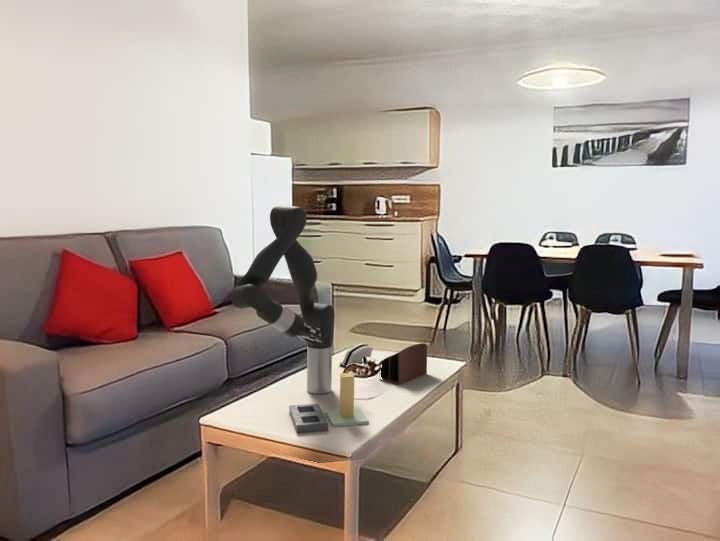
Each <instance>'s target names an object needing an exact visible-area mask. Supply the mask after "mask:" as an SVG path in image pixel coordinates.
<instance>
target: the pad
mask: <svg viewBox="0 0 720 541" xmlns="http://www.w3.org/2000/svg"><path fill="white" fill-rule="evenodd" d="M362 410H363V409H361V407H360V408H358V407H356V408H354V418H341V416H340V409H329V410H327V409H326V410H325V415H326V418H328V419H327V420H328V421H329V423H330V425H331V426H332V427H333V428H334V427H346V426H347V425H349V426H359V425H358V424H363V425H369V424H370V422H369V418H368V417H367V416H366V414H364V412H363V411H362ZM347 427H348V426H347Z"/></svg>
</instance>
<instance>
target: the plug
mask: <svg viewBox="0 0 720 541" xmlns="http://www.w3.org/2000/svg"><path fill="white" fill-rule="evenodd" d="M339 377H340V379H339V381H340V386H339V390H340V391H339V410H340V416H341V418H354V409H355V408H354V407H355V375H354V373H353V372H343V373H341V372H340V374H339Z"/></svg>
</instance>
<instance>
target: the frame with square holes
mask: <svg viewBox="0 0 720 541" xmlns="http://www.w3.org/2000/svg"><path fill="white" fill-rule="evenodd" d="M288 408H289V409H288V412H289V416H290V418H291V421H292V424H293V427H294V429H295V433H296V434H302V433H303V434H304V433H315V432H316V431H319V432H329V422H328V419H327V417H326V416H325V414H324V412H323V410H322V408H321V406H320V404H319V403H308V404H294V405H289V406H288Z"/></svg>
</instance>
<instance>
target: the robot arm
mask: <svg viewBox="0 0 720 541" xmlns="http://www.w3.org/2000/svg"><path fill="white" fill-rule="evenodd" d="M269 223H270V226H271V230H272V232H273V234H274V235H275V239H274V240H273V241H271V242H270V243H269V244H268V245H267V246H265V247H264V248H263V249H261V251H259V253H257V255H256V256H255V258H254V259H253V261H252V263H251V264H250V266H249V268H248V270H247V271H246V273H245V274H244V275H243V276H242V277H241V279H240V280H239V281H238V282H237V283H236V284H235V285H234V287H233V289H232V292H231V294H230V301H231V304H232V305H233V306H234V307H235V308H238V309H240V310H241V309H242V310H243V309H248V308H252V309H254V310H255V312H256V315H257V316H258V317H259V319H261V320H263V321H264V322H266V323H267V324H269V325H270V326H272V327H273V328H275V329H277V331H279V332H281V333H283V334H285V335H286V336H288V337H289V338H295V339H297V340H298V341H301V340H302V341H303V342H304V341H305V342H306V344H307V346H306V349H307V351H306V352H307V354H306V355H307V360H306V362H307V364H306V391H307V392H308V393H310V394H316V395H323V394H328V393H331V392H332V383H333V382H332V376H333V373H332V372H333V370H332V367H333V366H332V365H333V341H334V331H335V330H334V329H335V309H334V306H332V305H331V304H329V303H320V302H315V300H314V298H313V294H312V293H313V289H314V287H315V284H316V283H317V279H318V271H317V268H316V265H315V261H314V259H313V257H312V256H311V254H310V253H309V252H308V251H307V250H306V249H305V248H304V247H303V245H301V243H300V242H299V241H298V240H297V239H298V237H300V235H301V234H302V232H303V231H304V229H305V227H306V224H307V214H306V211H305V210H304V209H303V208H302V207H300V206H294V205H291V206H290V205H275V206H274V207H272V208H271V210H270V212H269ZM283 256H284V260H285V262H286V265H287V268H288V272H289V274H290V278H291V280H292V283H293V285H294V288H295V289H294V290H295V292H296V295H297V299H298V304H299V307H300V312H301V315H300V314H298V313H296V312H295V311H293V310H292V309H290V308H288V307H287V306H285V305H282V304H280V303H279V302H278V301H276V300H274V299H273V298H271V296H270V295H269V294H268V292H266V291H265V290H264V289H263V288H262V286H264V285H266V284H267V283H268V281H269V280H270V278H271V277H272V275H273V272H274V270H275V269H276V268H277V266H278V263H279V262H280V261H281V259H282V258H283Z"/></svg>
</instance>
